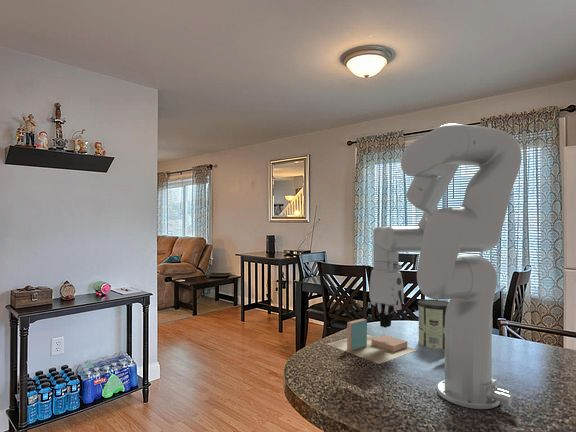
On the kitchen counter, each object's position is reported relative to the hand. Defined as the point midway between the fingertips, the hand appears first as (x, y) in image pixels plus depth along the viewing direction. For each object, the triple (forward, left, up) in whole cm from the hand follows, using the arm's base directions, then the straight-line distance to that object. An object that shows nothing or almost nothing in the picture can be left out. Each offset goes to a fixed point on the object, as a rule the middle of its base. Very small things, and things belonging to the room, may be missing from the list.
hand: (385, 326), depth 113 cm
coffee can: (-8, -14, -7) cm, 18 cm away
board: (+2, +5, -7) cm, 9 cm away
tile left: (+4, +9, -6) cm, 11 cm away
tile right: (+3, 0, -5) cm, 5 cm away
